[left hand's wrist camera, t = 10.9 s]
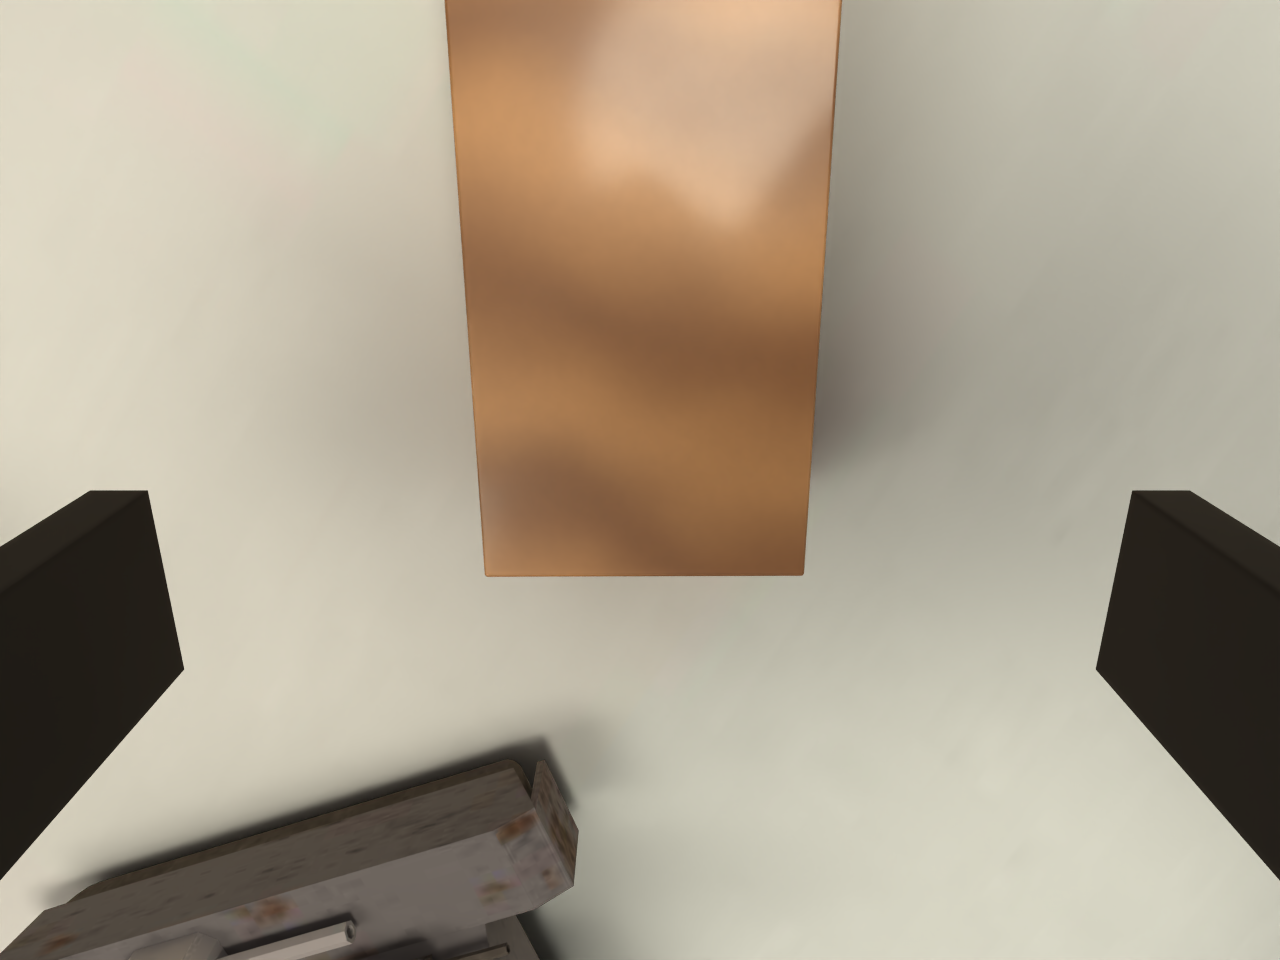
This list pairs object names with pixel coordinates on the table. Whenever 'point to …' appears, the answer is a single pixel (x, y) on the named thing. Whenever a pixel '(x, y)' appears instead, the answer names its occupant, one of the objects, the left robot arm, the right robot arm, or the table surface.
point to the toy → (342, 884)
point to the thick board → (643, 277)
